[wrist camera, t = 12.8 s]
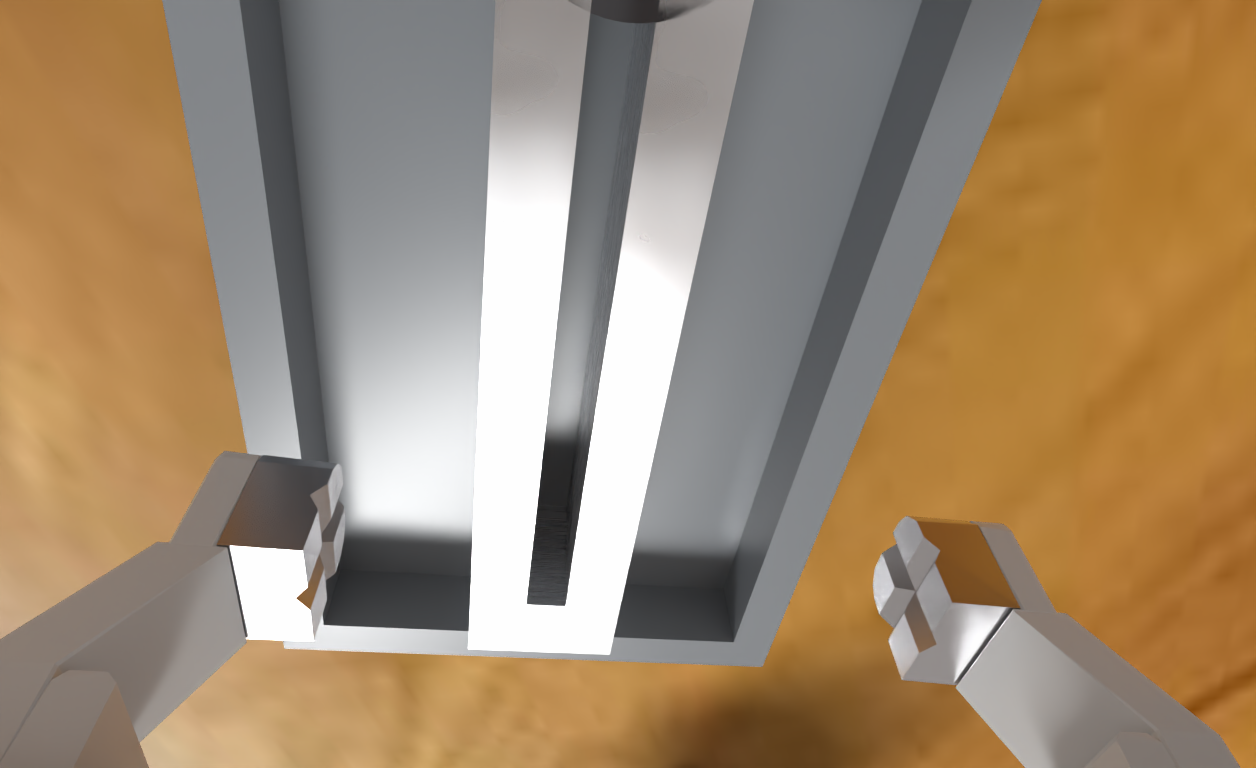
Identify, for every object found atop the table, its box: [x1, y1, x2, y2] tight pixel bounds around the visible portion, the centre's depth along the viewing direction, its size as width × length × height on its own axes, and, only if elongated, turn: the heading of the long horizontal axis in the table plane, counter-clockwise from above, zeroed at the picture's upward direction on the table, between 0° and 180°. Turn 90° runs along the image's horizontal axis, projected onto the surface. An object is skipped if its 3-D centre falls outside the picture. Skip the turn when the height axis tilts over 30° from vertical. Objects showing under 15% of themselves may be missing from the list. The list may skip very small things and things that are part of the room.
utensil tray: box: [162, 0, 1042, 667], centre depth 18 cm, size 14×25×3 cm, turn 172°
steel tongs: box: [468, 0, 754, 655], centre depth 17 cm, size 4×20×4 cm, turn 172°
